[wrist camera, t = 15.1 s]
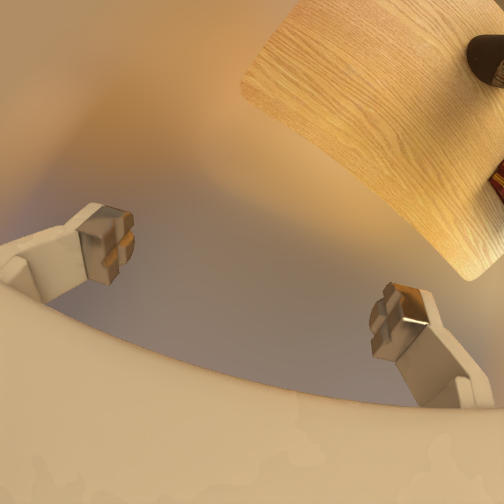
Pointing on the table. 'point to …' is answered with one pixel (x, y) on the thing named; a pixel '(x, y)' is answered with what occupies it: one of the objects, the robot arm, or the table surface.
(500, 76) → the container
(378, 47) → the table surface
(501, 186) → the decorative book
